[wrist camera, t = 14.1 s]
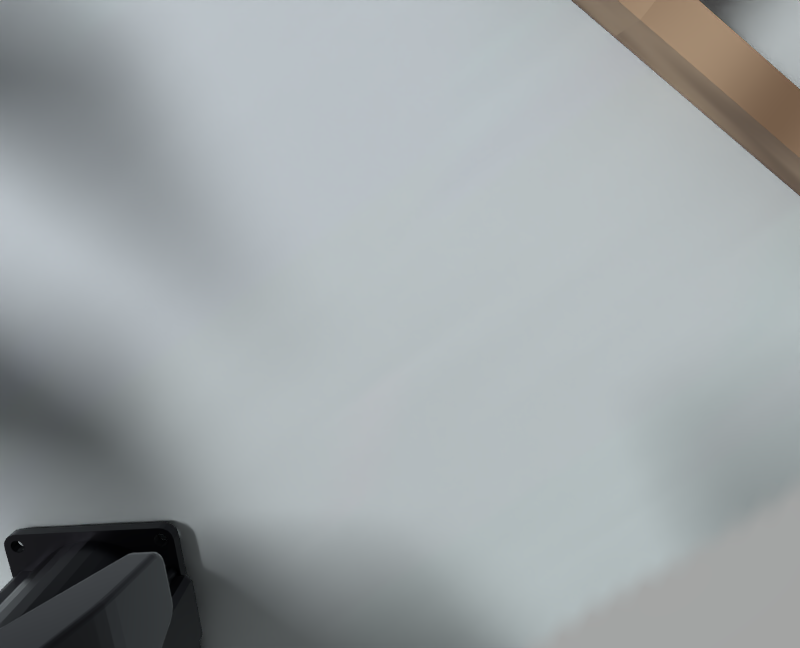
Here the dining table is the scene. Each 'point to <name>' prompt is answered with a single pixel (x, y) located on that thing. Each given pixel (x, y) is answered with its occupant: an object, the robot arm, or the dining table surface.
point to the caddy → (712, 74)
